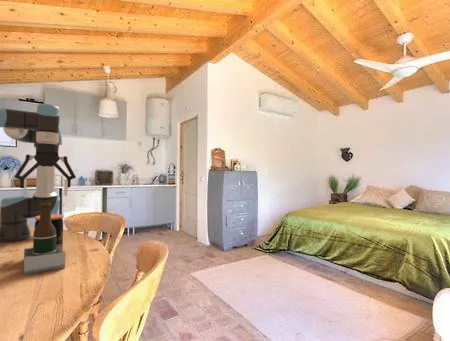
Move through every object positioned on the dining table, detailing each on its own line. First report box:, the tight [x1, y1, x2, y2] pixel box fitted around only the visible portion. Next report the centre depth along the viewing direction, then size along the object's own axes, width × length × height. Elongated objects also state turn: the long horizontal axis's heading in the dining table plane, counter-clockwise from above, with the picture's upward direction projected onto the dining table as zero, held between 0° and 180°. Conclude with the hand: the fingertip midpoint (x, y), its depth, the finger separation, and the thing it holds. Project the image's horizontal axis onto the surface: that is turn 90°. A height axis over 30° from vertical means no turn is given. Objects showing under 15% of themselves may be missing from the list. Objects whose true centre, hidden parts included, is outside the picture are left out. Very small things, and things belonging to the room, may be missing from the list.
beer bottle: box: [32, 203, 56, 255], centre depth 105 cm, size 8×8×24 cm
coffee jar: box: [34, 213, 64, 251], centre depth 117 cm, size 11×11×18 cm
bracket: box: [23, 244, 66, 276], centre depth 105 cm, size 13×13×6 cm
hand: (46, 196), depth 105 cm, fingers open, 13 cm apart
